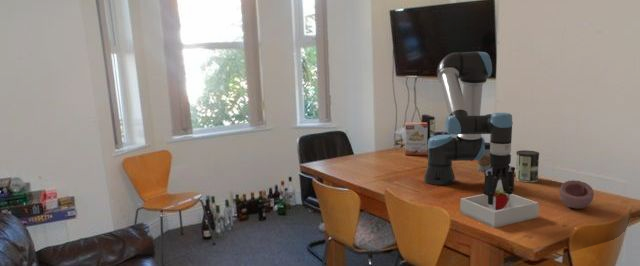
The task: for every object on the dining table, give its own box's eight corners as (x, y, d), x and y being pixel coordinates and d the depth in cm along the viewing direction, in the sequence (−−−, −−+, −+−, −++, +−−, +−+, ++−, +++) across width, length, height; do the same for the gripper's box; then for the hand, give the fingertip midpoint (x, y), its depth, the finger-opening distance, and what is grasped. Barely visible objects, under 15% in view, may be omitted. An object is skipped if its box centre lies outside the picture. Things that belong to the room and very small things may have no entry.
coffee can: (534, 177, 223) (536, 150, 221) (540, 182, 213) (542, 154, 211) (513, 176, 225) (514, 150, 223) (517, 182, 215) (519, 154, 213)
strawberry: (496, 207, 176) (496, 183, 175) (511, 212, 170) (512, 188, 168) (485, 209, 174) (485, 185, 172) (500, 215, 167) (501, 190, 165)
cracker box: (405, 155, 283) (405, 123, 279) (405, 153, 289) (405, 122, 285) (427, 155, 280) (427, 123, 277) (426, 153, 286) (427, 122, 283)
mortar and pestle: (560, 211, 174) (562, 183, 172) (556, 202, 185) (558, 175, 183) (595, 214, 170) (597, 185, 168) (589, 204, 181) (591, 177, 179)
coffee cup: (475, 172, 237) (476, 144, 234) (476, 168, 244) (477, 142, 242) (492, 173, 234) (493, 145, 231) (492, 169, 241) (493, 142, 239)
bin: (460, 212, 176) (460, 198, 175) (501, 204, 184) (502, 190, 183) (494, 227, 159) (494, 212, 158) (537, 217, 168) (538, 202, 167)
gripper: (488, 157, 161) (486, 217, 165) (526, 152, 168) (523, 209, 172) (474, 154, 168) (472, 211, 171) (511, 148, 175) (508, 204, 179)
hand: (498, 210), depth 172 cm, fingers closed on strawberry, 6 cm apart
